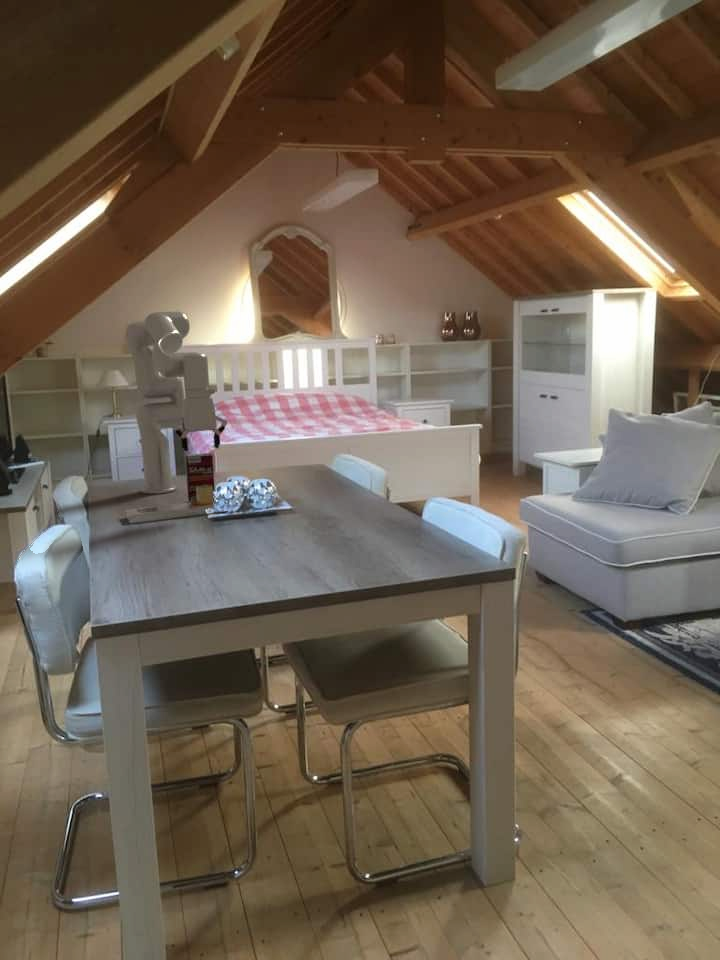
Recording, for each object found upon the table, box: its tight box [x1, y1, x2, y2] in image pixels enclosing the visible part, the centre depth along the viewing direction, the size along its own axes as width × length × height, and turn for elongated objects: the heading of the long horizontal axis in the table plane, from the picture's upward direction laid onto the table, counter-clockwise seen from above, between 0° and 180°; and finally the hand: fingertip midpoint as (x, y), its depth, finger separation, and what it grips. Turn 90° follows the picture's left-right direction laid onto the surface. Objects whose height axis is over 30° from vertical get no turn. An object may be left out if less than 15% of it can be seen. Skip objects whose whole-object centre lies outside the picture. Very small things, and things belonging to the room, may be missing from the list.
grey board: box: [125, 501, 214, 524], centre depth 253 cm, size 9×30×3 cm, turn 113°
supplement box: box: [185, 452, 216, 502], centre depth 270 cm, size 9×5×16 cm, turn 108°
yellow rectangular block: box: [196, 485, 214, 506], centre depth 256 cm, size 4×4×8 cm
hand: (201, 449), depth 253 cm, fingers open, 9 cm apart
